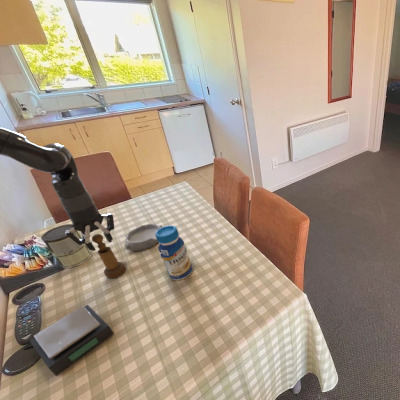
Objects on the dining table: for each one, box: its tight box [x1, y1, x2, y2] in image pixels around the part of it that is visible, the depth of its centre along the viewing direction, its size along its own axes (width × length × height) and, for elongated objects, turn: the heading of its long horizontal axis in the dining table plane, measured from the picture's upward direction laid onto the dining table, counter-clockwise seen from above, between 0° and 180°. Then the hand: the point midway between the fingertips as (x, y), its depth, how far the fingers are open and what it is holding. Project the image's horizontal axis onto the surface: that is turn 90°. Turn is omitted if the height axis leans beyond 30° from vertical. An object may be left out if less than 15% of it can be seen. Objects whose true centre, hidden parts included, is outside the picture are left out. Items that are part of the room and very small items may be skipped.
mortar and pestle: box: [91, 233, 127, 279], centre depth 98 cm, size 7×6×18 cm
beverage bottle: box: [155, 225, 194, 281], centre depth 97 cm, size 8×8×20 cm
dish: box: [124, 223, 163, 252], centre depth 117 cm, size 14×14×5 cm
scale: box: [29, 304, 115, 377], centre depth 77 cm, size 14×14×5 cm
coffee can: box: [40, 223, 93, 269], centre depth 105 cm, size 10×10×14 cm
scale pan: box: [33, 305, 101, 359], centre depth 76 cm, size 12×12×1 cm
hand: (101, 245), depth 95 cm, fingers open, 4 cm apart
